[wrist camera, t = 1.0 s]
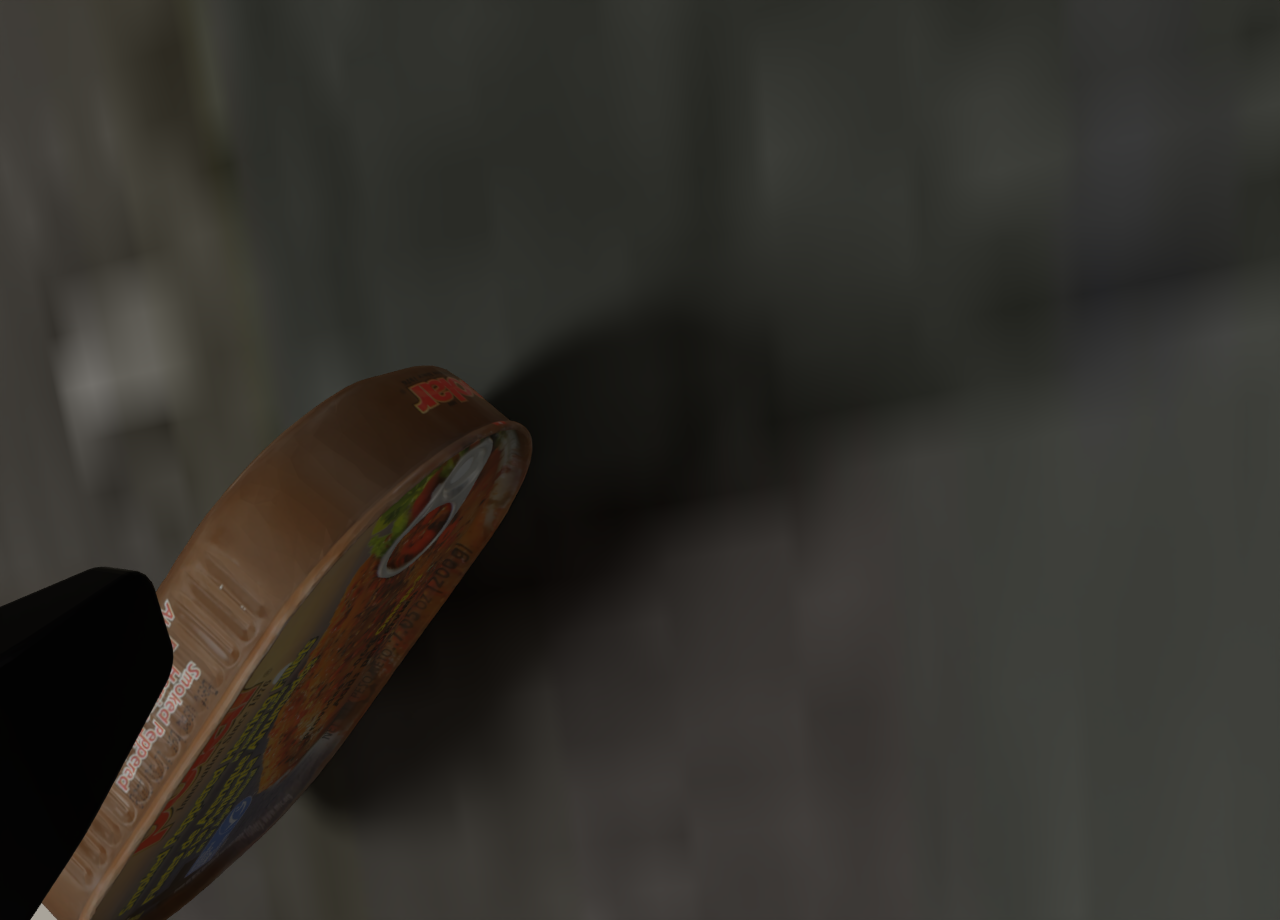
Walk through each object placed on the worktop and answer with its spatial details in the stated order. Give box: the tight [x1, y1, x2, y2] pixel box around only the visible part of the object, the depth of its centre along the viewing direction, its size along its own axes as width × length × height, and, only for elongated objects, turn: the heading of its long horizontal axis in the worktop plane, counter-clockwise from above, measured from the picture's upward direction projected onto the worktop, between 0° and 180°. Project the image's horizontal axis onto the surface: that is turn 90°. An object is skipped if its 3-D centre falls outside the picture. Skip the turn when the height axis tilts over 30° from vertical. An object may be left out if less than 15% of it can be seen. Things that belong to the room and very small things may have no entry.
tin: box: [42, 366, 532, 920], centre depth 26 cm, size 15×3×8 cm, turn 143°
